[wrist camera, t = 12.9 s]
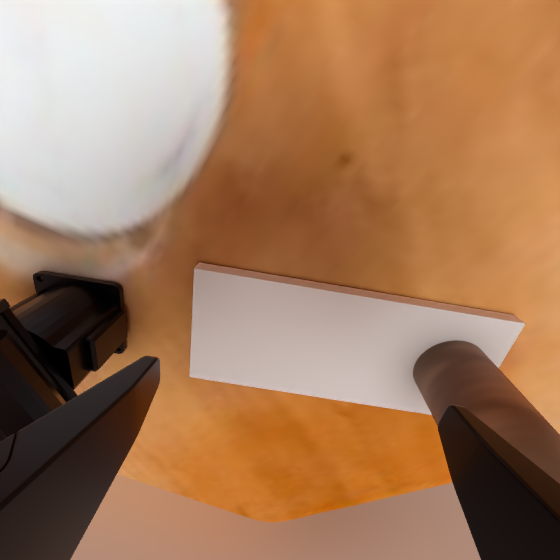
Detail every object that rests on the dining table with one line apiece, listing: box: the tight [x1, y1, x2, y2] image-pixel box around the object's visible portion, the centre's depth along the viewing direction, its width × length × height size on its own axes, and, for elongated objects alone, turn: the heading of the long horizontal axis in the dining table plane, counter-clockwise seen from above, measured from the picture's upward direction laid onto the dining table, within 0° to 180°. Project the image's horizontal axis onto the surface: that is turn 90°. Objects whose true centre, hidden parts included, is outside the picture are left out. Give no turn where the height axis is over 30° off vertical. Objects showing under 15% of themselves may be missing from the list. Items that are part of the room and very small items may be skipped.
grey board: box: [190, 262, 526, 415], centre depth 23 cm, size 24×10×1 cm, turn 81°
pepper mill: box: [413, 340, 560, 484], centre depth 17 cm, size 6×6×14 cm
